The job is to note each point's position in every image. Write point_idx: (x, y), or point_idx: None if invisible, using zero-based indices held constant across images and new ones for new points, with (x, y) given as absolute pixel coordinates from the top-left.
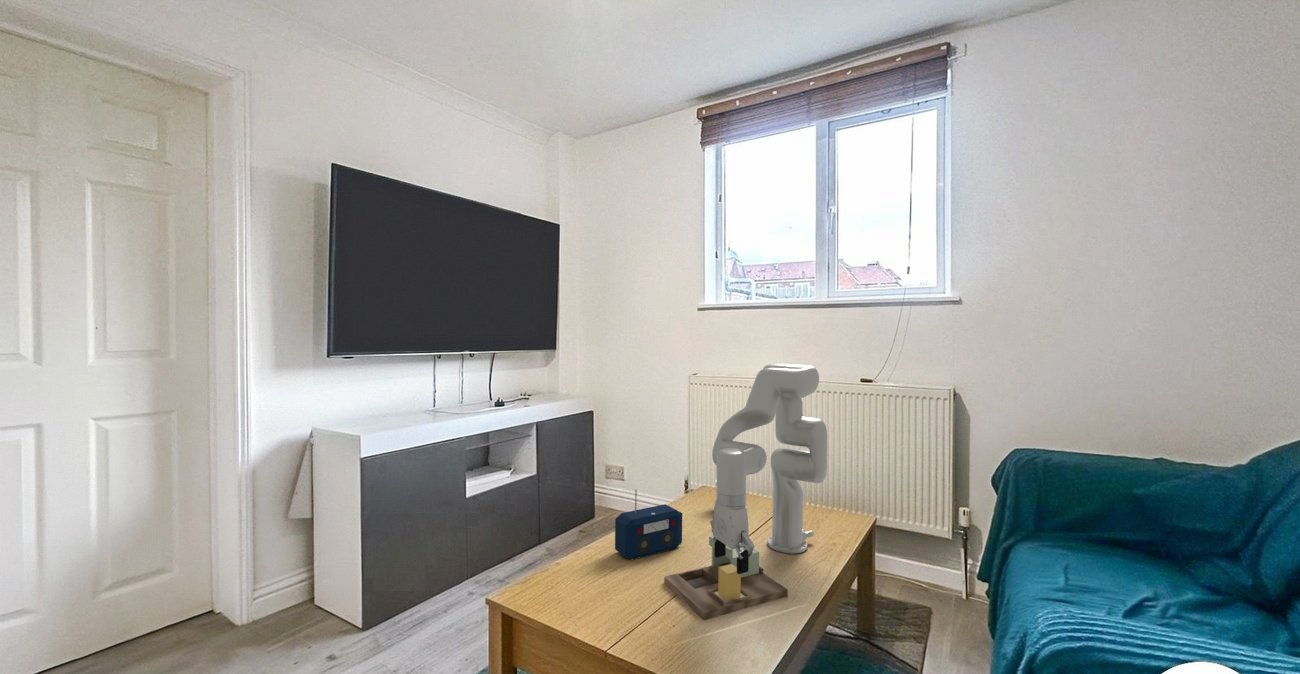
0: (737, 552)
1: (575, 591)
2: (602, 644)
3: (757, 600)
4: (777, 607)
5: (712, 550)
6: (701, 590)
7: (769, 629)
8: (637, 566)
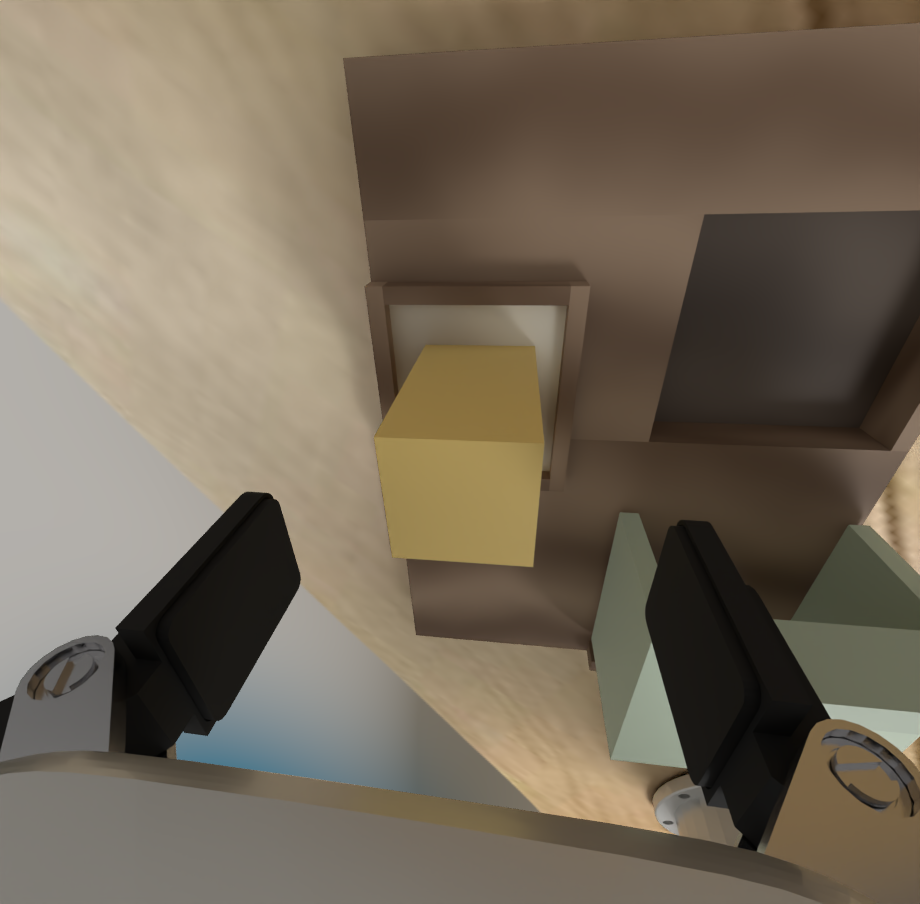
0: (90, 719)
1: None
2: None
3: None
4: (366, 536)
5: None
6: (648, 256)
7: (211, 405)
8: None
